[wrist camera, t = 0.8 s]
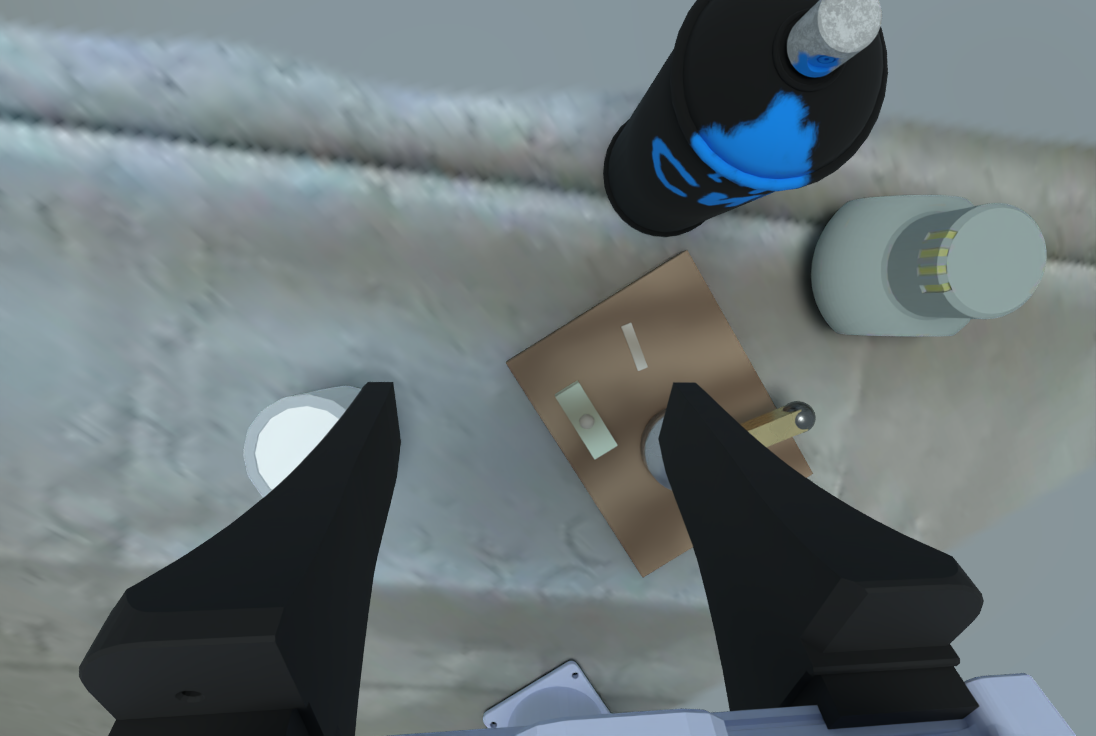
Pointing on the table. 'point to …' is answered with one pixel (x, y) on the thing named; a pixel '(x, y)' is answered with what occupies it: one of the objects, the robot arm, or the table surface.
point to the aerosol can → (748, 109)
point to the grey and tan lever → (763, 428)
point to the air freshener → (924, 264)
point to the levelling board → (640, 396)
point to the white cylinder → (291, 433)
